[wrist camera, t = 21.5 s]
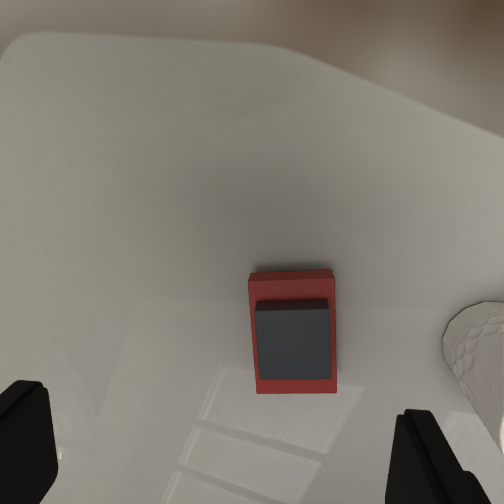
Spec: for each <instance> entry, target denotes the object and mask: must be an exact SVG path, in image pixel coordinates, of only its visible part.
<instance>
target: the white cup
mask: <svg viewBox="0 0 504 504" xmlns="http://www.w3.org/2000/svg"><path fill="white" fill-rule="evenodd" d="M442 342H443V354H444V358H445V360H446V361H447V363H448V364H449V366H450V367H451V369H452V370H453V372H454V374H455V376H456V377H457V380H458V382H459V385H460V387H461V388H462V390H463V392H464V393H465V395H466V397H467V399H468V400H469V401H470V403H471V405H472V407H473V409H474V410H475V412H476V414H477V415H478V417H479V418H480V420H481V421H482V423H483V424H484V426H485V427H486V429H487V431H488V432H489V434H490V435H491V437H492V439H493V440H494V442H495V443H496V445H497V446H498V448H499V450H500V451H501V453H502V454H503V456H504V303H503V302H487V301H486V302H482V303H479V304H476V305H474V306H471V307H468V308H465V309H464V310H463V311H462V312H460V313H459V314H458V315H457V316H456V317H455V318H454V319H452V320H451V321H450V322H449V325H448V327H447V329H446V332H445V334H444V336H443V339H442Z"/></svg>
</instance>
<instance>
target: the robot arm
mask: <svg viewBox="0 0 504 504" xmlns="http://www.w3.org/2000/svg"><path fill="white" fill-rule="evenodd" d="M57 474H58V461H57V453H56V446H55V438H54V431H53V424H52V416H51V409H50V401H49V394H48V390H47V388H44V387H43V384H42V383H41V382H39V381H26V380H18V381H16V382H14V383H13V384H12V385H10V386H9V387H8V388H7V389H6V390H5V391H4V392H2V393H1V394H0V504H40V502H41V501H42V499H43V498H44V496H45V495H46V493H47V492H48V490H49V489H50V488H51V486H52V485H53V483H54V481H55V479H56V477H57ZM385 504H491V502H490V500H489V499H488V497H487V495H486V493H485V492H484V490H483V488H482V486H481V485H480V483H479V481H478V480H477V478H476V477H475V475H474V474H473V473H471V472H470V471H463V469H462V468H461V466H460V464H459V462H458V460H457V458H456V456H455V455H454V453H453V451H452V449H451V447H450V445H449V444H448V442H447V440H446V438H445V436H444V434H443V433H442V431H441V429H440V427H439V425H438V423H437V421H436V420H435V418H434V416H433V414H432V413H431V411H429V410H415V409H406V410H405V412H404V415H402V414H399V415H398V416H397V419H396V426H395V433H394V439H393V446H392V453H391V460H390V467H389V473H388V480H387V487H386V494H385Z"/></svg>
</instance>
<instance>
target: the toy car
mask: <svg viewBox="0 0 504 504" xmlns="http://www.w3.org/2000/svg"><path fill="white" fill-rule="evenodd" d="M248 290H249V303H250V315H251V328H252V341H253V354H254V367H255V379H256V392H257V394H283V393H337V368H336V321H335V278H334V275H333V272H332V270H309V271H285V272H260V273H251V274H250V277H249V280H248Z"/></svg>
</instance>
